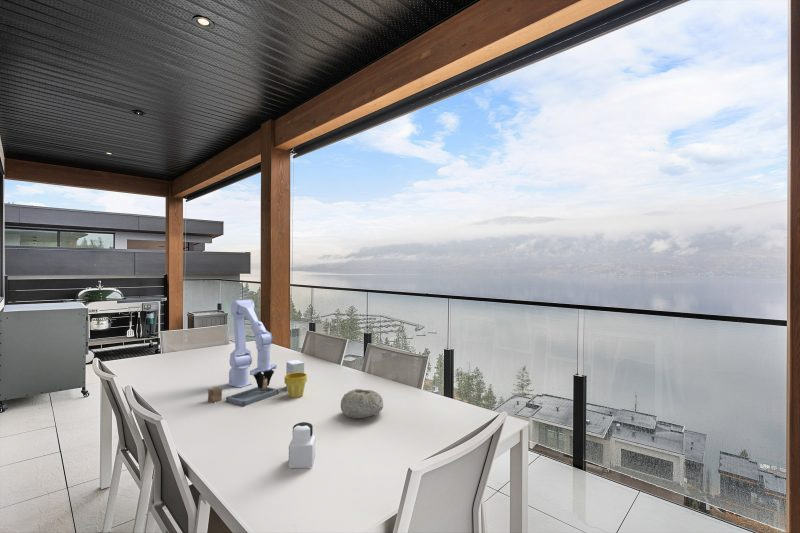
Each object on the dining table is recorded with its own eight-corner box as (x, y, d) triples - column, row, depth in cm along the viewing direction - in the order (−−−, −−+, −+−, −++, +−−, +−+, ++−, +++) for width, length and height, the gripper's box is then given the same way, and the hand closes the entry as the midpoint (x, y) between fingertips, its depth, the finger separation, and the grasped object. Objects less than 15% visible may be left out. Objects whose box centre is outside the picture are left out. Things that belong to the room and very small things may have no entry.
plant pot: (280, 395, 183) (280, 375, 183) (298, 390, 191) (299, 370, 191) (291, 400, 176) (292, 379, 176) (311, 395, 184) (311, 375, 184)
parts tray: (226, 401, 174) (226, 397, 174) (261, 389, 192) (261, 385, 192) (244, 406, 169) (244, 401, 169) (278, 393, 186) (278, 389, 186)
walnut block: (208, 401, 174) (208, 389, 174) (215, 399, 178) (216, 387, 178) (213, 403, 172) (213, 390, 172) (221, 400, 176) (221, 388, 176)
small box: (304, 388, 195) (304, 362, 195) (292, 390, 191) (292, 364, 191) (297, 384, 201) (297, 359, 201) (285, 386, 197) (286, 361, 197)
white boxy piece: (292, 457, 124) (293, 420, 124) (315, 457, 125) (315, 419, 125) (288, 469, 117) (288, 429, 117) (312, 468, 117) (312, 429, 117)
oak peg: (257, 390, 185) (257, 379, 185) (263, 388, 188) (263, 377, 188) (263, 391, 183) (263, 379, 183) (268, 389, 187) (268, 378, 187)
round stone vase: (365, 404, 173) (365, 382, 173) (392, 415, 160) (392, 391, 160) (332, 414, 160) (332, 390, 161) (358, 427, 148) (358, 401, 148)
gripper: (257, 362, 177) (257, 392, 177) (281, 356, 190) (280, 384, 190) (246, 360, 181) (246, 389, 181) (270, 354, 193) (270, 381, 193)
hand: (263, 386), depth 186 cm, fingers closed on oak peg, 3 cm apart
